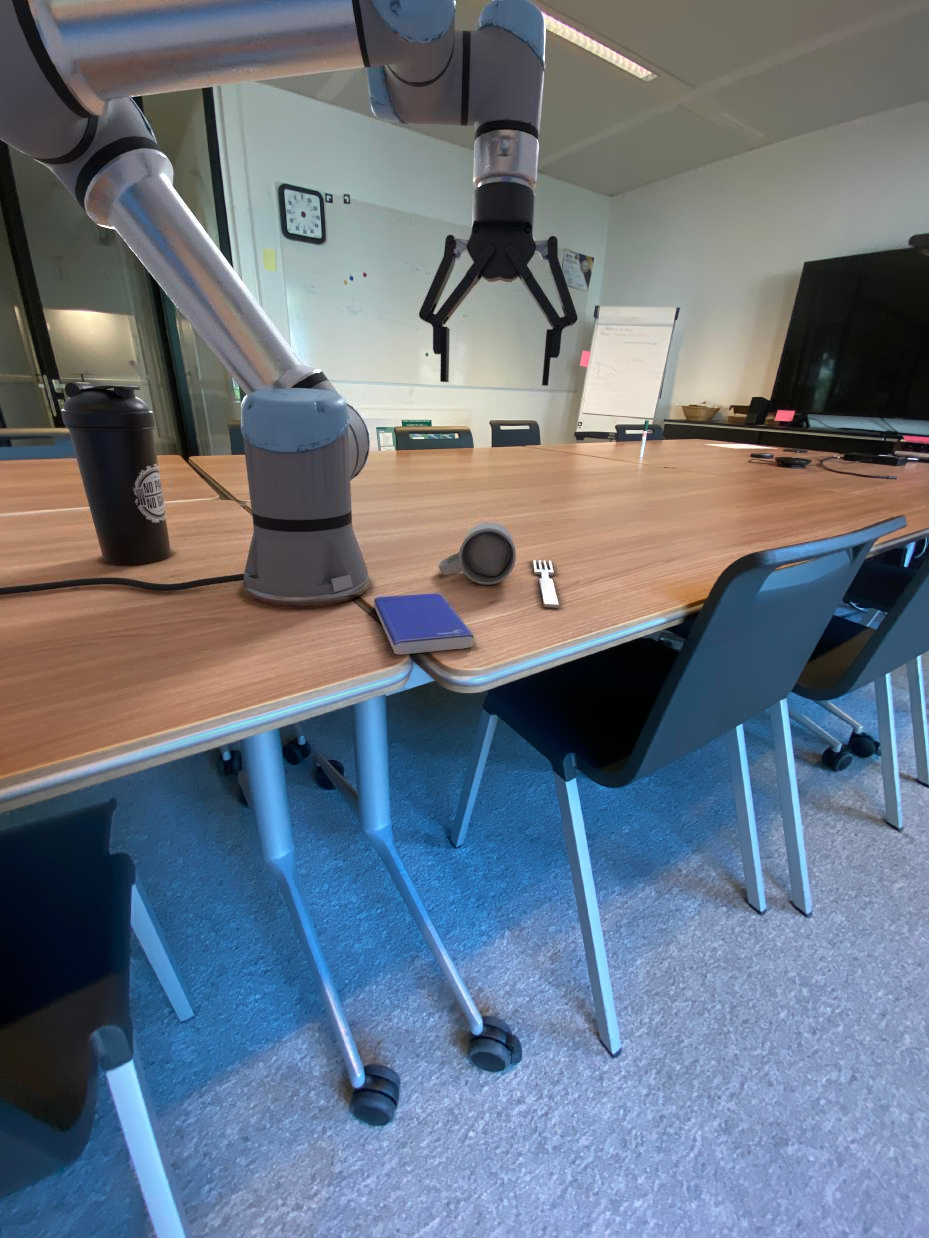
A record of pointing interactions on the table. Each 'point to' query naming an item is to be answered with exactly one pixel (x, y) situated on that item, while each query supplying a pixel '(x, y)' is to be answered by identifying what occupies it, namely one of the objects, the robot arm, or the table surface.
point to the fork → (546, 584)
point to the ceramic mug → (483, 555)
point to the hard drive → (421, 624)
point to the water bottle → (118, 471)
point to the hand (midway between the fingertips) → (494, 384)
